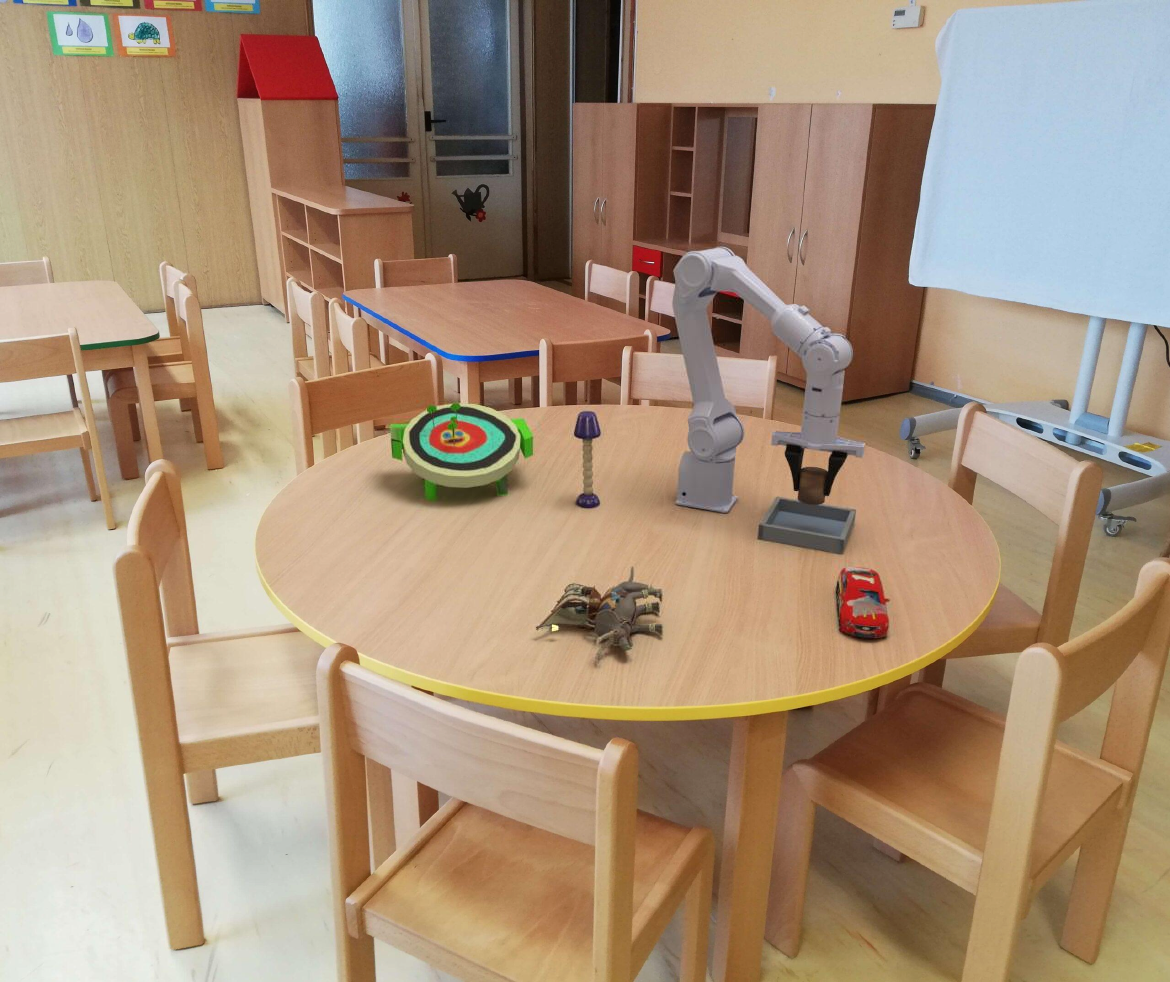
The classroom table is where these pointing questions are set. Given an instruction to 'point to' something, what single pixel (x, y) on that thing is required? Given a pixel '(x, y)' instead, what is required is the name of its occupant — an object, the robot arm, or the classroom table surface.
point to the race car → (861, 603)
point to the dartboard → (461, 446)
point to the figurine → (606, 612)
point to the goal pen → (807, 525)
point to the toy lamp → (587, 456)
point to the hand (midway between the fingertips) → (811, 491)
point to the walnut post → (812, 485)
